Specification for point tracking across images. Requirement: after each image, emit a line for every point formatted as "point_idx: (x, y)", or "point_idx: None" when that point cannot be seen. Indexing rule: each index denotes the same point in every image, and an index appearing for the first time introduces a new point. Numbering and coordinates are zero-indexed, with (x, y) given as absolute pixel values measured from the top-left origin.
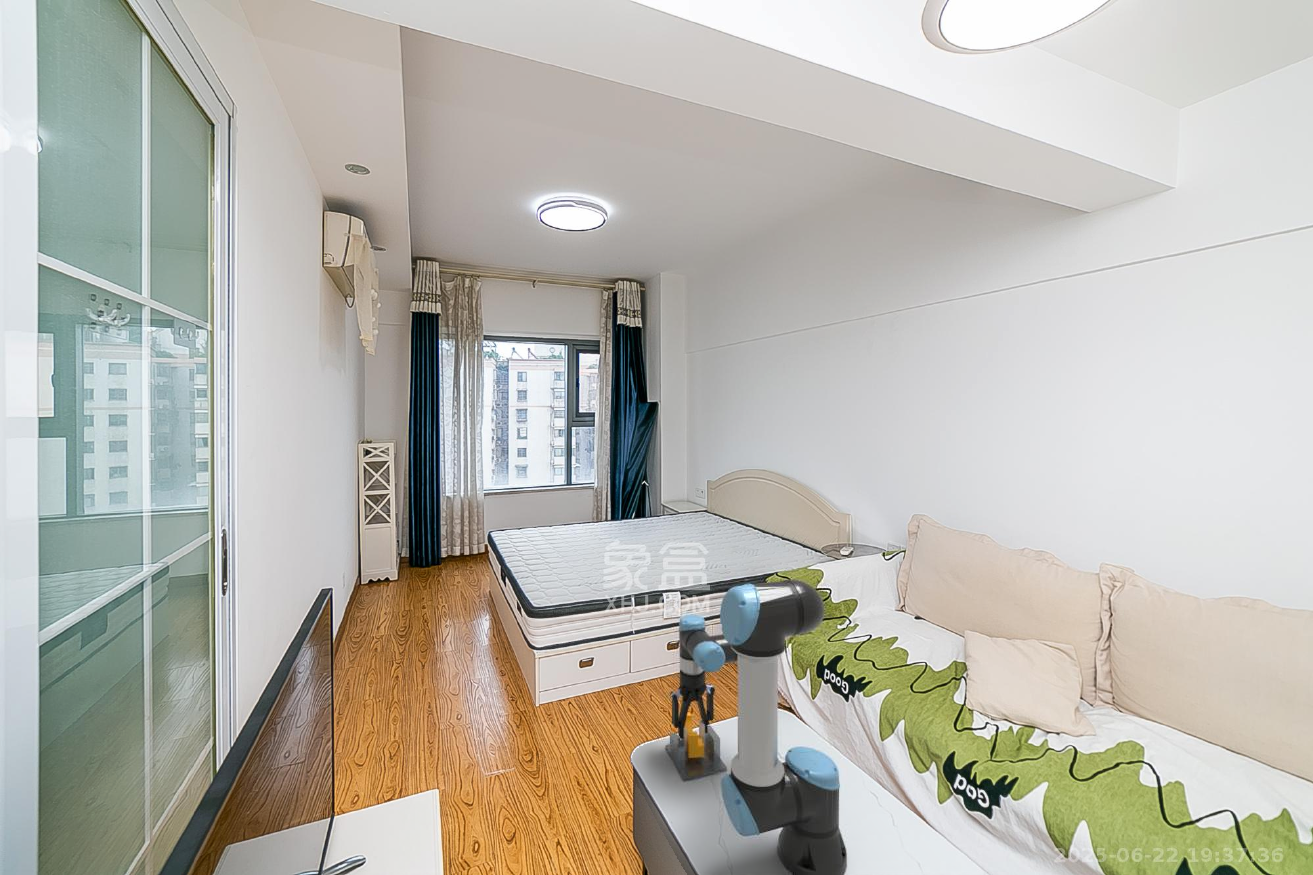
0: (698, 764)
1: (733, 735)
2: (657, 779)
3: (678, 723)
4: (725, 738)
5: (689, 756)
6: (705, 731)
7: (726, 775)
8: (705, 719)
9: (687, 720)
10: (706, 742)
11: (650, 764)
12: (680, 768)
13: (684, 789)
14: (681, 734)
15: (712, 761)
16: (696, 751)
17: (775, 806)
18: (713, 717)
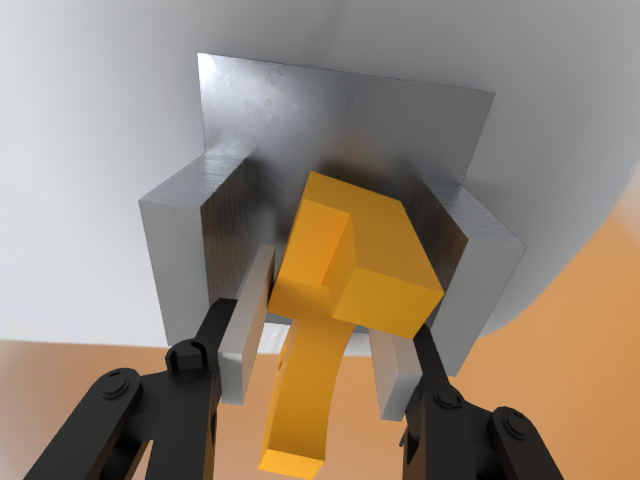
0: (346, 163)
1: (86, 279)
2: (583, 175)
3: (508, 452)
4: (129, 277)
5: (398, 203)
6: (227, 308)
7: None
8: (188, 399)
9: (300, 420)
10: (236, 267)
11: (523, 276)
12: (452, 179)
13: (537, 16)
14: (422, 343)
15: (260, 148)
16: (359, 200)
17: None
18: (89, 392)
